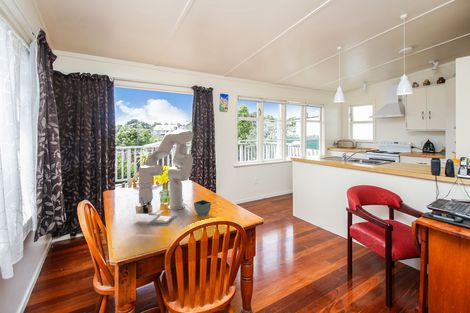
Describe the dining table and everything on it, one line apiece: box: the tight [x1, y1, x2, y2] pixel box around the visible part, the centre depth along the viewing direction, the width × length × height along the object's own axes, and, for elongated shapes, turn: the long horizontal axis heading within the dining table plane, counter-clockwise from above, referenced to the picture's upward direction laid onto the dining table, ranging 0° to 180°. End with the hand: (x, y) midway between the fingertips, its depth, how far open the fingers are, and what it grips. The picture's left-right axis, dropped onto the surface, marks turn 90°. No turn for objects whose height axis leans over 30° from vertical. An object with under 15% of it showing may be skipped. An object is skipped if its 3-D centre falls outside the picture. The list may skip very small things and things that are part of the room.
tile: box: [155, 215, 173, 223], centre depth 147 cm, size 8×1×8 cm
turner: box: [134, 204, 165, 216], centre depth 147 cm, size 17×7×5 cm, turn 83°
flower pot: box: [193, 199, 212, 217], centre depth 158 cm, size 9×9×9 cm
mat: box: [146, 214, 178, 227], centre depth 147 cm, size 16×14×1 cm
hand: (147, 212), depth 148 cm, fingers closed on turner, 2 cm apart
